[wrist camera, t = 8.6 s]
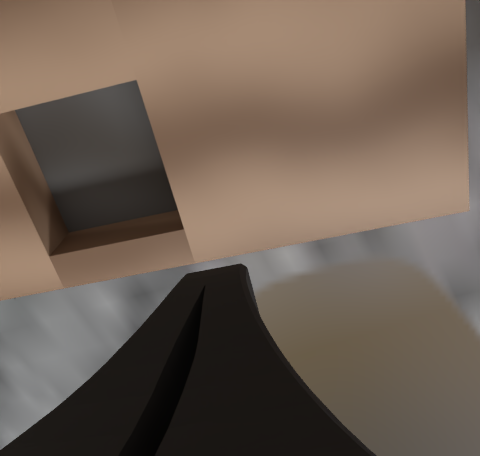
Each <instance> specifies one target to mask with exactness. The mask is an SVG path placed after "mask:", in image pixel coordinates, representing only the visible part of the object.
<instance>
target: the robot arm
mask: <svg viewBox="0 0 480 456" xmlns="http://www.w3.org/2000/svg"><path fill="white" fill-rule="evenodd" d="M0 456H376V455H375V454H374V453H373V452H371V451H370V450H369V449H368V448H367V447H366V446H365V445H364V444H363V443H362V442H361V441H360V440H359V439H358V438H357V437H356V436H355V435H353V434H352V433H351V432H350V431H349V430H348V429H347V428H346V427H345V426H344V425H343V424H342V423H341V422H340V421H339V420H338V419H337V418H336V417H335V416H334V415H333V413H331V411H330V410H329V409H328V408H327V407H326V406H325V405H324V404H323V403H322V402H321V401H320V399H319V398H318V397H317V396H316V395H315V394H314V393H313V392H312V391H311V390H310V389H309V387H308V386H307V385H306V384H305V383H304V382H303V380H302V379H301V378H300V376H299V375H298V374H297V373H296V371H295V370H294V369H293V367H292V366H291V365H290V363H289V362H288V361H287V359H286V358H285V357H284V355H283V354H282V352H281V351H280V349H279V348H278V346H277V345H276V343H275V341H274V340H273V338H272V336H271V335H270V333H269V331H268V330H267V328H266V326H265V325H264V323H263V321H262V319H261V317H260V314H259V311H258V307H257V303H256V299H255V296H254V292H253V288H252V284H251V280H250V277H249V273H248V269H247V267H246V266H244V265H242V264H236V265H231V266H225V267H220V268H215V269H210V270H204V271H199V272H194V273H188V274H186V275H185V276H184V277H183V278H182V279H181V280H180V281H179V283H178V284H177V285H176V286H175V287H174V288H173V290H172V291H171V292H170V293H169V294H168V295H167V297H166V298H165V299H164V300H163V301H162V303H161V304H160V305H159V306H158V307H157V308H156V310H155V311H154V312H153V313H152V314H151V315H150V316H149V318H148V319H147V320H146V321H145V322H144V323H143V325H142V326H141V327H140V328H139V329H138V330H137V331H136V332H135V333H134V334H133V335H132V336H131V338H130V339H129V340H128V341H127V342H126V343H125V344H124V345H123V346H122V347H121V348H120V349H119V350H118V351H117V352H116V353H115V354H114V355H113V356H112V357H111V358H110V359H109V361H108V362H107V363H106V364H105V365H103V366H102V367H101V368H100V369H99V370H98V371H97V372H96V373H95V374H94V375H93V376H92V377H91V378H90V379H89V380H88V381H86V382H85V383H84V384H83V385H82V386H81V387H80V388H78V389H77V390H76V391H75V392H74V393H73V394H72V395H70V396H69V397H68V398H67V399H66V400H65V401H64V402H62V403H61V404H60V405H59V406H57V407H56V408H55V409H54V410H53V411H51V412H50V413H49V414H47V415H46V416H45V417H43V418H42V419H41V420H39V421H38V422H37V423H36V424H34V425H33V426H32V427H30V428H29V429H28V430H26V431H25V432H24V433H23V434H21V435H20V436H19V437H17V438H16V439H15V440H13V441H12V442H11V443H9V444H8V445H7V446H5V447H4V448H3V449H1V450H0Z"/></svg>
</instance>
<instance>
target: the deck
mask: <svg viewBox="0 0 480 456" xmlns="http://www.w3.org/2000/svg"><path fill="white" fill-rule="evenodd" d="M466 211H469V167H468V114H467V61H466V8H465V0H0V301H1V300H6V299H11V298H16V297H21V296H27V295H32V294H37V293H42V292H48V291H53V290H58V289H63V288H69V287H74V286H79V285H84V284H89V283H95V282H100V281H105V280H110V279H116V278H121V277H126V276H131V275H137V274H142V273H147V272H152V271H157V270H163V269H168V268H173V267H178V266H184V265H189V264H194V263H199V262H204V261H210V260H215V259H220V258H225V257H231V256H236V255H241V254H246V253H252V252H257V251H262V250H267V249H272V248H278V247H283V246H288V245H293V244H299V243H304V242H309V241H314V240H320V239H325V238H330V237H335V236H340V235H346V234H351V233H356V232H361V231H367V230H372V229H377V228H382V227H388V226H393V225H398V224H403V223H408V222H414V221H419V220H424V219H429V218H435V217H440V216H445V215H450V214H455V213H461V212H466Z"/></svg>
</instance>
